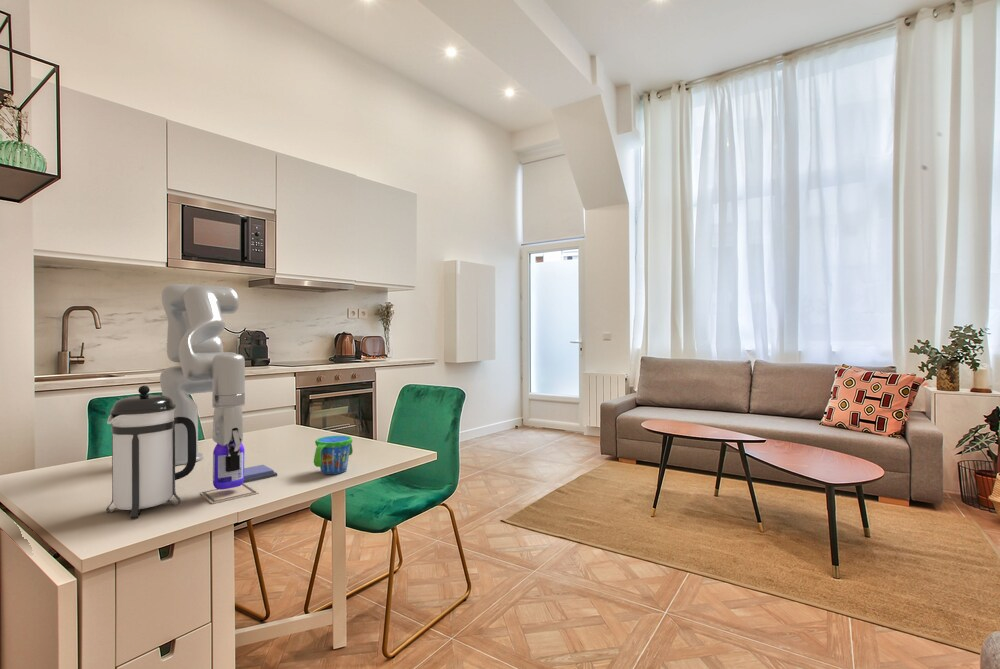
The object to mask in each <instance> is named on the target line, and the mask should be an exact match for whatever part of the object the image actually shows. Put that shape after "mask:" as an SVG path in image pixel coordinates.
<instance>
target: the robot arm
mask: <svg viewBox="0 0 1000 669" xmlns="http://www.w3.org/2000/svg"><path fill="white" fill-rule="evenodd" d="M161 303H162V306H163V310H164V312H165V315H166V318H167V336H166V337H167V338H166V354H167V358H168V359H169V360H170V362H173V363H179V364H180V365H175V366H169V367H167V368H165V369H163V370H162V371H161V373H160V376H159V384H160V389H161V395H162V396H167V397H169V398H171V399H172V401H173V403H174V404H176V408H175V410H174V418H176V417H186V418H189V419H190V420H192V421H193V423H194V425H195V428H196V462H199V461H201V460H203V458H204V453H202V452H199V409H198V405H197V403H196V401H194V399H192V398H191V397H190V395H194V394H202V393H212V398H211V401H212V405H211V406H212V408H214V411H213V420H212V422H213V423H212V440H213V442H214V443H216V444H217V443H218V444H219V445H221V446H225V445H226V449H227V456H226V472H231V471H236V470H239V469H240V446H241V442H242V443H243V440H244V422H243V407H244V406H245V405H246V396H245V395H246V391H245V389H246V374H245V373H246V372H245V371H246V369H245V368H246V366H245V365H246V362H245V356H244V355H242V354H239V353H236V352H234V351H233V352H230V351H227V352H224V345H223V341H222V339H221V337H220V336H219V335H220V334H222V333H223V331H224V329H225V328H226V324H225V319H224V317H223V315H225V314H226V315H227V314H229V315H230V314H233V315H234V314H235V313H237V311H238V309H239V306H240V298H239V295H238V293H237V291H236V290H235V289H234V288H232V287H230V286H221V285H220V286H217V285H201V284H191V283H190V284H188V283H174V284H173V283H172V284H168V285H165V286H164V287H163V289H162V292H161ZM229 442H233V443H234V444H229ZM232 446H233V447H232ZM230 447H232V448H231V450H230ZM187 461H188V433H187V428H186V426H185V425H184V424H182V423H181V424H175V466H178V465H180V466H181V465H187Z"/></svg>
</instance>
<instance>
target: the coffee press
mask: <svg viewBox="0 0 1000 669" xmlns="http://www.w3.org/2000/svg"><path fill="white" fill-rule="evenodd" d="M137 391H138V393H139V395H135V396H128V397H124V398H120V399H119V400H117V401H115V403H114V404H113V406H112V408H111V409H110V413H109V416H108V418H107V421H106V424H107V425H111V428H110V429H111V430H110V431H111V452H112V453H111V464H112V465H111V470H112V472H111V473H112V474H111V477H112V478H111V480H112V481H111V482H112V483H111V484H112V485H111V486H112V490H111V491H112V492H111V494H112V495H111V496H112V498H111V502H110V504H108V506H107V507H106V509H105V511H106V512H107V513H108V514H112V513H113V512H114V511H115V510H118V509H119V510H123V511H124V510H126V511H130V514H129V515H130V519H131V520H133V519H139V517H140V514H141V511H142V510H144V509H148V508H153V507H157V506H159V505H162V504H164V503H170V504H171V505H173V506H175V505H176V506H179V505H180V504H181V501H182V499H181V497H179V496H178V495H177V492H176V481H177V480H180V479H183V478H185V477H187V476H188V475H189V474H190V473H192V472H193V470H194V468H195V466H196V462H197V461H196V428H195V425H194V423H193V421H192V420H190V419H189V418H186V417H176V418H174V410H175V408H176V404H174V403H173V401H172V399H171V398H169V397H167V396H163V395H162V394H160V395H159V394H149V392H150V391H151V389H150V387H149V386H148V385H141V386H140V387H139V388H138V389H137ZM181 423H182V424H184V425H185V426H186V428H187V433H188V461H187V464H185V466H184V468H183V469H182V470H180V471H178V472H176V465H175V424H181ZM173 497H174V498H175V500H177V501H178V503H177V502H175V501H174V500H172V498H173ZM112 504H113V506H114V507H115V509H113V510H112V509H110V507H111V505H112Z"/></svg>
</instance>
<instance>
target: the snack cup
mask: <svg viewBox="0 0 1000 669" xmlns="http://www.w3.org/2000/svg"><path fill="white" fill-rule="evenodd" d="M314 443H315V446H316V448H315V452H314V456H313V464H314V466H315V467H317V468H320V472H321V473H322V474H325V475H337V474H341V473H344V472H345V471H347V469H348V463H349V459H350V458H349V457H350V456H351V455H352V454H353V445H352V443H353V437H351V436H349V435H348V436H347V435H328V436H327V435H326V436H322V437H318V438H316V439H315V441H314Z"/></svg>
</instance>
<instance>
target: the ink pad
mask: <svg viewBox="0 0 1000 669" xmlns="http://www.w3.org/2000/svg"><path fill="white" fill-rule="evenodd" d="M277 476H278V473H277V472H276V471H275V470H274V469H272V468H270V467H269V466H267V465H265V464H259V465H253V466H248V467H244V481H243V483H245V484H246V483H250V482H254V481H259V480H263V479H269V478H274V477H277ZM243 483H242V484H243Z"/></svg>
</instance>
